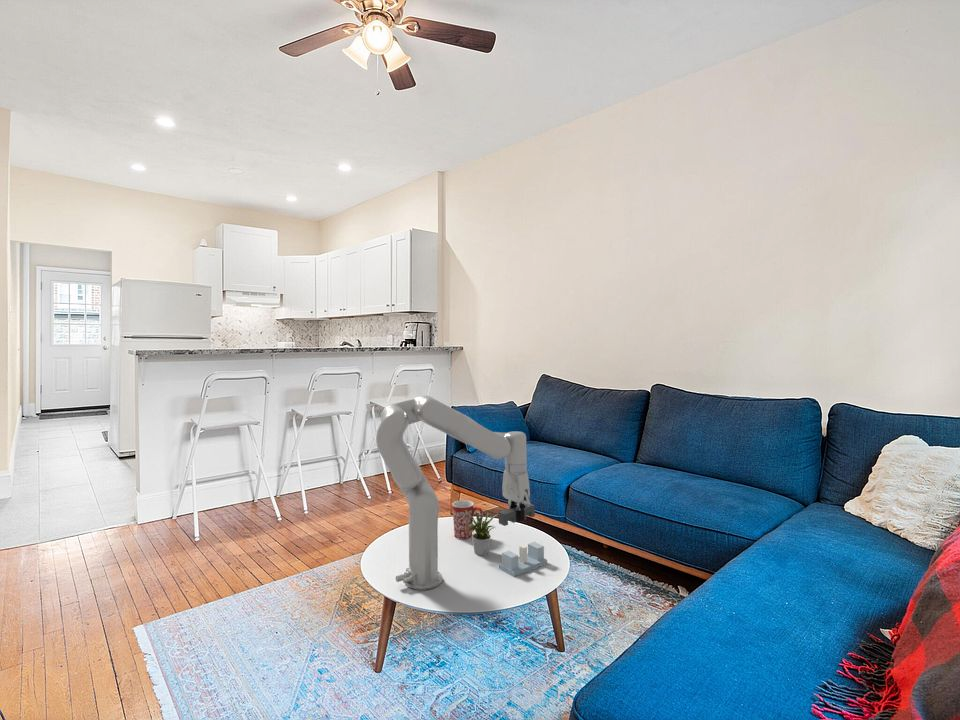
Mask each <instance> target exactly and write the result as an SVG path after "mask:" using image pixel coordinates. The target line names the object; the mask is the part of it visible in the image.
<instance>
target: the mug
mask: <svg viewBox="0 0 960 720" xmlns="http://www.w3.org/2000/svg"><path fill="white" fill-rule="evenodd" d="M451 507H452V517H453V532H454V533H453V534H454V537H455V538H456V539H458V538H459V540H467V538H468V539H470V538H472V535H473V532H471V533H469V531H470V530H474V528H473V527H471V526H469V524H472V523H473V524H474V522H473V521H474V520H473V519H472V517H471V515H470V514H469V513H468V512H470V513H471V514H472V516H473V517H474V514H475V512H474V511H476V512H477V510H478V511H480V516H479V518H480V521H481V517H484V514H482V513H484V511H483V509H482V508H481V507H480V506H477V507H476V506H475V507H474V502H473V501H471V500H467V499H464V500H461V499H460V500H456V501H454V502H452V503H451ZM467 511H468V512H467ZM463 517H468V518H463ZM470 518H471V519H472V520H473V521H472V520H471V519H470ZM469 520H470V521H471V522H472V523H471V522H470V521H469ZM474 525H475V524H474ZM475 526H476V525H475ZM477 526H478V525H477ZM465 528H468V529H465ZM474 531H475V530H474Z"/></svg>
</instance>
